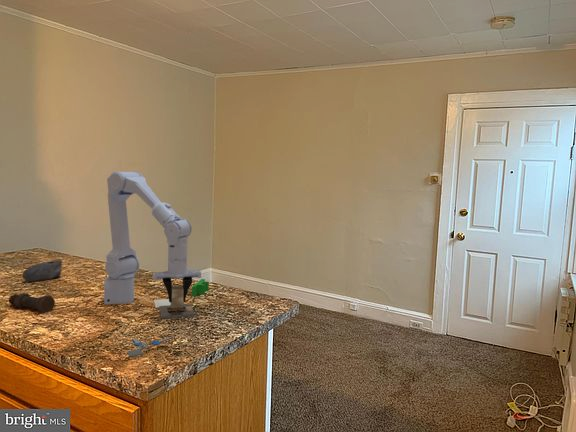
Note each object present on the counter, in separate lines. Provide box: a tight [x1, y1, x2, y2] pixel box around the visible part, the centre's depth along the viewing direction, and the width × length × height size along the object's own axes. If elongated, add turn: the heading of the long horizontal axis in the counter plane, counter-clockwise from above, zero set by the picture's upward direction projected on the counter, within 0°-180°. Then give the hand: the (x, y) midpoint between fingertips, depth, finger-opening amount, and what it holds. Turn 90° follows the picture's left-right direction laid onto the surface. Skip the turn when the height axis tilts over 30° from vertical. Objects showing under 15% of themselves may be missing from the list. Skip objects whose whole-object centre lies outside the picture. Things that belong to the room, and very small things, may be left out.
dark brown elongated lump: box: [8, 292, 56, 314], centre depth 132 cm, size 6×5×15 cm
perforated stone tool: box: [22, 259, 63, 282], centre depth 165 cm, size 15×5×7 cm, turn 142°
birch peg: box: [171, 285, 184, 308], centre depth 132 cm, size 4×4×6 cm
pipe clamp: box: [191, 278, 210, 297], centre depth 155 cm, size 11×4×5 cm, turn 173°
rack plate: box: [158, 303, 196, 320], centre depth 133 cm, size 10×10×2 cm
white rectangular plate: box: [153, 298, 171, 309], centre depth 141 cm, size 6×8×1 cm
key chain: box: [126, 336, 172, 357], centre depth 109 cm, size 14×8×1 cm, turn 159°
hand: (176, 300), depth 132 cm, fingers closed on birch peg, 3 cm apart
